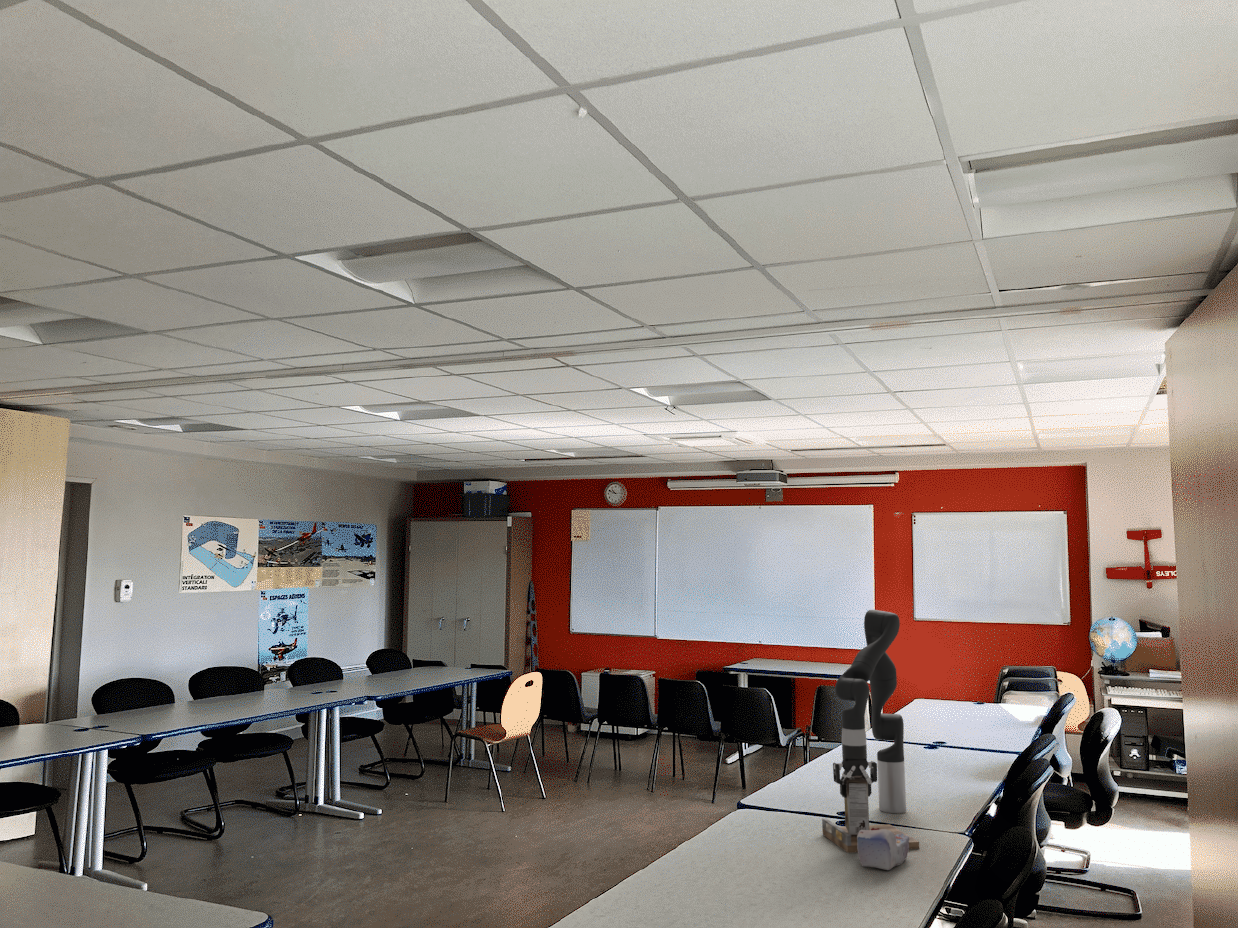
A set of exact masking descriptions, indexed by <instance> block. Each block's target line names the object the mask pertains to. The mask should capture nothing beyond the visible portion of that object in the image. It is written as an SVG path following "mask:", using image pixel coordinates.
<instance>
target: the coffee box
mask: <svg viewBox="0 0 1238 928" xmlns="http://www.w3.org/2000/svg"><path fill="white" fill-rule="evenodd" d="M846 793H847V798H844V797H843V798H844V799H843V800H844V801H843V802H844V824H845V825H844V827H846V828H847V831H848V833H849V834H850V835H858V833H859V831H860V830H869V825H870V814H869V811H870V807H869V797H868V782H867V780H866V779H865V778H863V777H862V776H853V777H852V776H851V777H850V779H849V780H848V779H847V780H846Z"/></svg>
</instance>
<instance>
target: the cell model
mask: <svg viewBox="0 0 1238 928" xmlns="http://www.w3.org/2000/svg"><path fill="white" fill-rule="evenodd" d="M909 836H910V835H908V836H906V835H904V834H900V835H899V834H895V833H893V832H891V831H890V830H887V829H879V828H877V829H874V828H872V829H871V830H860V831H859V833H858V835H857V849H858V852H857V853H858V858H859V862H860V864H861V866H862V867H865V868H866V867H869V868H877V869H879V870H883V871H890V870H891V869H892V868H894V867H897V866H900V865H901V864H903V863H904V862H905V860H906V859H907V858H908V853H909V850H910V849H909Z"/></svg>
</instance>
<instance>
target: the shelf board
mask: <svg viewBox="0 0 1238 928" xmlns="http://www.w3.org/2000/svg"><path fill="white" fill-rule="evenodd" d="M821 821H822V822H821V825H822V826H821V827H822V828H821V830H822V835H823V836H824V837H826V838H827V839H829V840H830V841H831V842H832V843H833V844H835V845H836V846H838V847H839V848H840V849H842V850H843V851H844V852H846V853H847V854H850V853H851V854H852V853H858V849H857V835H850V834H849V833H848V831H847V828H846V826H838V825H836V824H835V823H834V822H832V821H831V820H829V819H828V818H825V817H823V818H821ZM872 828H874V829H877V828H879V829H887V830H890V831H891V832H893V833H895V834H899V835H900V834H904V835H906V836H909V850H918V849H920V841H918V840H917V839H915V838H913V837H912V836H910V835H908V834H907V833H905V832H903V831H902V830H900V829H899V828H897V827H895V826H893V825H892V824H874V825H873V824H872V825H870V824H869V830H871V829H872Z"/></svg>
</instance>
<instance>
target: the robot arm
mask: <svg viewBox="0 0 1238 928" xmlns="http://www.w3.org/2000/svg"><path fill="white" fill-rule="evenodd" d="M863 619H864V620H863V625H864V626H863V630H864V636H865V642H866V643H865V644H866V646H864V647H863V648H862V649H860V650H859V651H858V652H857V654H856V655H855V657H854V659H853V661H852V663H851V665H850V667H849V668H847V669H846V670H845V672H844V673H842V674H841V675H840V676H839V678H838V679H837V680H836V683H835V686H834V691H835V695H836V697H837V699H839V700H842V701H850V702H854V706H853V707H847V708H844V709H842V712H841V729H842V730H841V751H842V752H841V755H842V761H841V762H839V763H838V762H833V763H832V771H833V773H832V774H833V782H835V783H836V784H837V785H839V793H840V795H841V797H842V798H847V793H846V780H847V779H848V780H849V779H850V777H851V776H852V777H853V776H862V777H863V778H865V779H866V780H867V782H868V798H869V797H871V795H872V784H873V783H877V789H878V810H879V811H881V812H883V813H888V814H903V813H905V812H907V796H906V795H907V791H906V772H905V771H906V770H905V751H904V749H905V748H904V739H905V738H904V733H905V732H904V731H905V730H904V726H905V725H904V719H903V717H902V715H901V714H898V713H882V711H883V708H884V706H885V705H886V703H887V702H888V701H889V699H890V698H891V697H892V696H893V694H894V693H895V691H896V689H897V685H898V680H897V679H898V678H897V667H896V666H895V663H894V661H893V660H892V659H891V657H890V656H889V655H888V653H887V650H888V649H889V648H890V646H891V645H892V644H893V642H894V641H895V639H896V638H897V636H898V634H899V632H900V625H901V623H900V622H901V621H900V617H899V616H898V614H896V613H893V612H890V611H884V610H878V609H868V610H867V611H866V613H865V615H864V618H863ZM868 681H869V683H868ZM869 697H870V699H871V732H872V736H873V737H874V739H875V740H879V741H892V742H893V741H894V743H893V744H892V745H890V746H889V747H886V748H883V749H880V750H878V751H877V754H876V757H877V759H876V761H873V760H871V761H868V759H867V758H868V753H867V752H868V751H867V733H866V720H865V717H866V709H867V704H868V700H869ZM842 768H843V772H842V774H841V770H842ZM867 768H869V772H870V773H869V774H870V775H869V774H868V773H867V771H866V770H867Z"/></svg>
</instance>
